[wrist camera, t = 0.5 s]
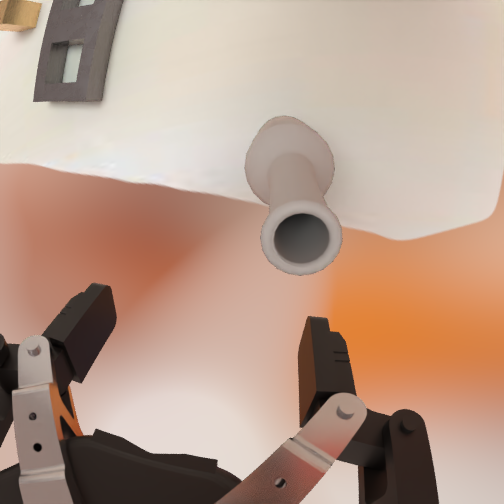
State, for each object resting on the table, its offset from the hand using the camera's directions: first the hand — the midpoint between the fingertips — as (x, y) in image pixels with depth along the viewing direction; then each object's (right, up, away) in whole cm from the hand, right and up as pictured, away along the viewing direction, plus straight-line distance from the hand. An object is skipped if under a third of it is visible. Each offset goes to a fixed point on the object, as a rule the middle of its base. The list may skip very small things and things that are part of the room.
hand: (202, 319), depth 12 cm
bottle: (+6, +16, +23) cm, 29 cm away
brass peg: (-34, +40, +14) cm, 54 cm away
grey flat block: (-21, +34, +16) cm, 43 cm away
